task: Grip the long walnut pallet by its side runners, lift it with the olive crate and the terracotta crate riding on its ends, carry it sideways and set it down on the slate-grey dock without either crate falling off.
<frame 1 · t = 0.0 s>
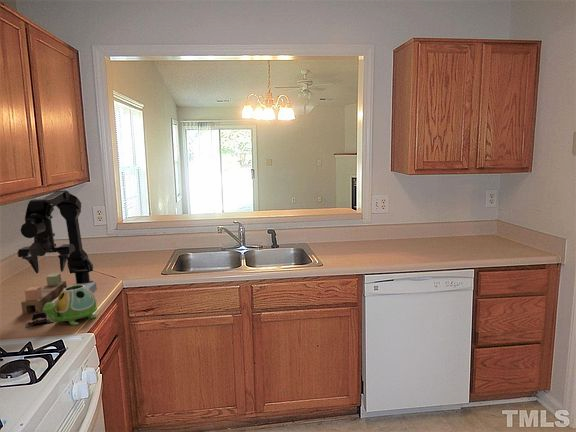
hand: (49, 272, 164), 15 cm above the worktop, tool pointing down, fingers open, 9 cm apart
dock: (74, 299, 175), on the worktop
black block: (40, 324, 153), on the worktop
olive crate: (54, 284, 182), point 5 cm above the worktop, touching pallet
terracotta crate: (34, 298, 165), point 5 cm above the worktop, touching pallet
pallet: (46, 302, 174), on the worktop, touching olive crate, terracotta crate
turtle holder: (74, 320, 154), on the worktop
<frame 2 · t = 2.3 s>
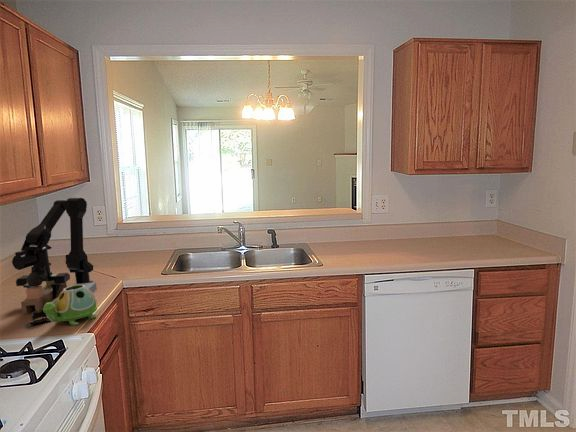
hand: (46, 299, 174), 1 cm above the worktop, tool pointing down, fingers closed on pallet, 6 cm apart
pallet: (46, 302, 174), on the worktop, touching gripper, olive crate, terracotta crate
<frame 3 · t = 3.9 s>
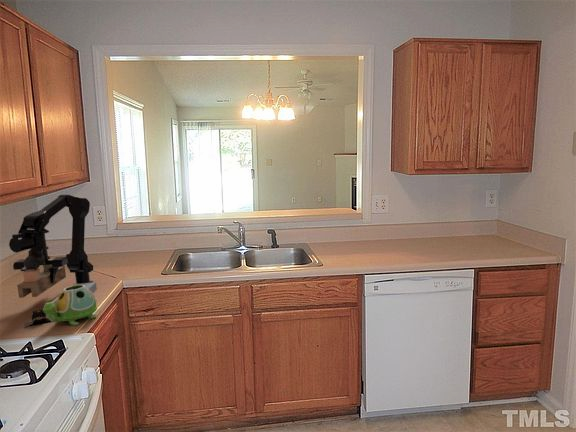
hand: (43, 283, 173), 8 cm above the worktop, tool pointing down, fingers closed on pallet, 6 cm apart
olive crate: (51, 269, 179), point 12 cm above the worktop, touching pallet
terracotta crate: (32, 280, 165), point 12 cm above the worktop, touching pallet
pallet: (44, 286, 173), point 7 cm above the worktop, touching gripper, olive crate, terracotta crate
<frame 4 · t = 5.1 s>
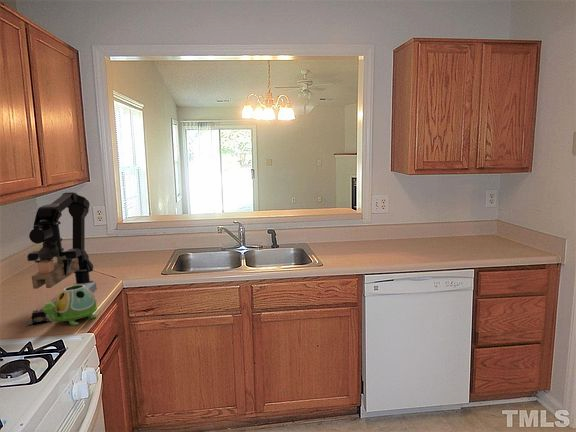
hand: (57, 275, 172), 11 cm above the worktop, tool pointing down, fingers closed on pallet, 6 cm apart
olive crate: (64, 261, 179), point 15 cm above the worktop, touching pallet
terracotta crate: (46, 271, 165), point 15 cm above the worktop, touching pallet
pallet: (57, 278, 173), point 10 cm above the worktop, touching gripper, olive crate, terracotta crate
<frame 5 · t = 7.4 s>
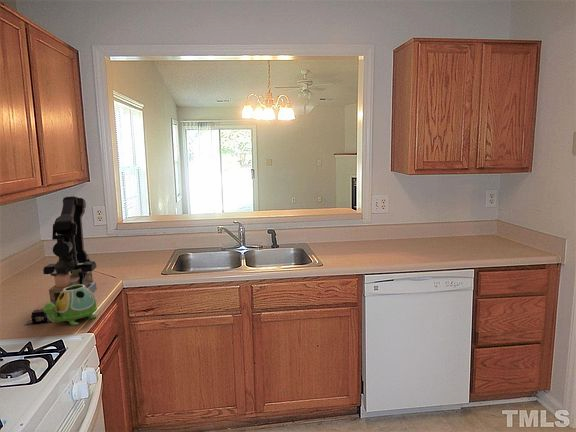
hand: (72, 287, 174), 5 cm above the worktop, tool pointing down, fingers closed on pallet, 6 cm apart
olive crate: (79, 273, 180), point 9 cm above the worktop, touching pallet
terracotta crate: (63, 285, 166), point 9 cm above the worktop, touching pallet
pallet: (73, 290, 174), point 4 cm above the worktop, touching gripper, olive crate, terracotta crate
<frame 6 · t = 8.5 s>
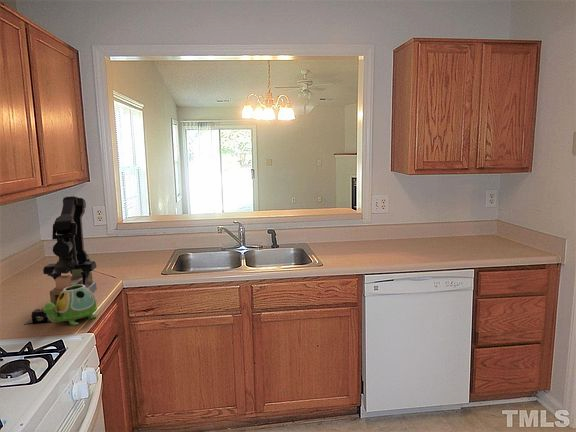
hand: (72, 287, 174), 5 cm above the worktop, tool pointing down, fingers open, 9 cm apart
pallet: (73, 292, 174), point 3 cm above the worktop, touching dock, olive crate, terracotta crate
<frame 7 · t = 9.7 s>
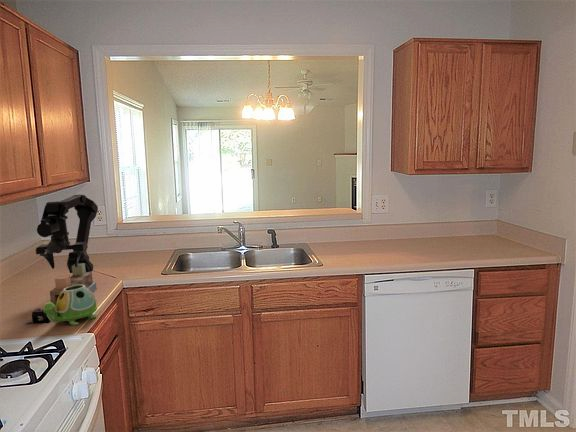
hand: (64, 267, 180), 12 cm above the worktop, tool pointing down, fingers open, 9 cm apart
olive crate: (79, 273, 183), point 8 cm above the worktop, touching gripper, pallet
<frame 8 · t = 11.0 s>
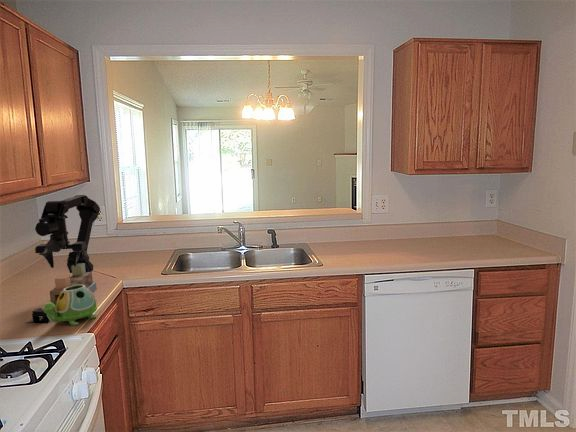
hand: (63, 267, 180), 12 cm above the worktop, tool pointing down, fingers open, 9 cm apart
at the end: pallet 0.0 cm from the target spot, point 3.1 cm above the worktop; olive crate 2.2 cm from the target spot on the pallet, point 5.0 cm above the pallet's base; terracotta crate 1.4 cm from the target spot on the pallet, point 5.0 cm above the pallet's base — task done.
